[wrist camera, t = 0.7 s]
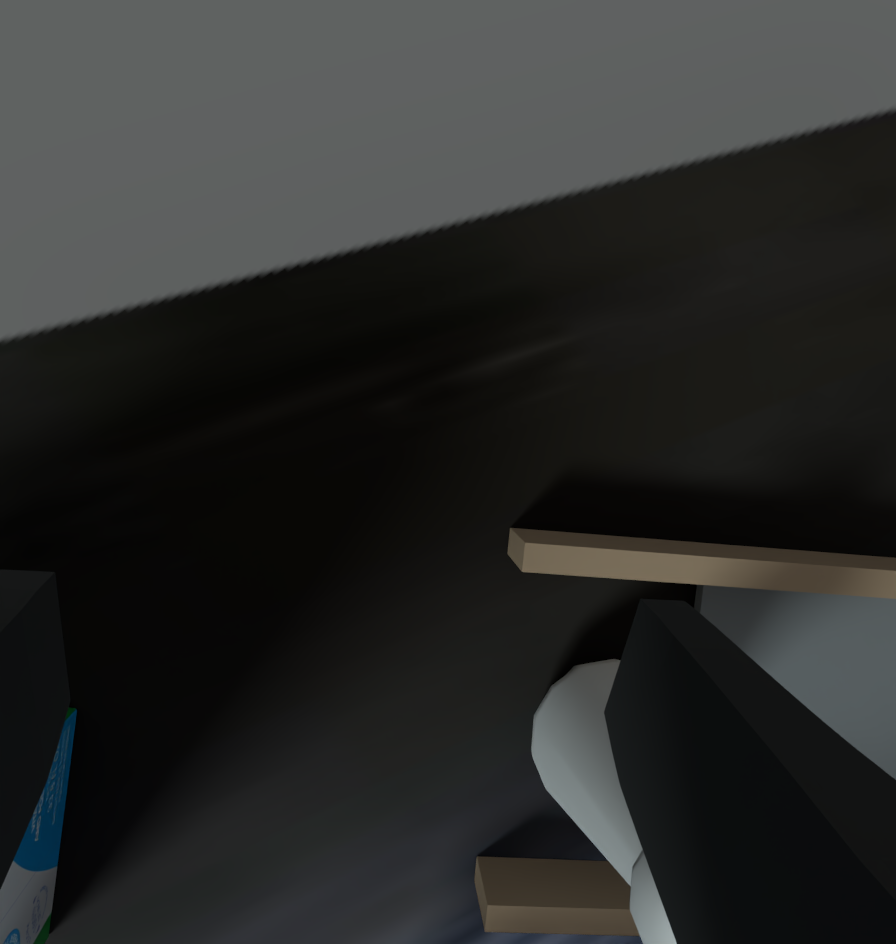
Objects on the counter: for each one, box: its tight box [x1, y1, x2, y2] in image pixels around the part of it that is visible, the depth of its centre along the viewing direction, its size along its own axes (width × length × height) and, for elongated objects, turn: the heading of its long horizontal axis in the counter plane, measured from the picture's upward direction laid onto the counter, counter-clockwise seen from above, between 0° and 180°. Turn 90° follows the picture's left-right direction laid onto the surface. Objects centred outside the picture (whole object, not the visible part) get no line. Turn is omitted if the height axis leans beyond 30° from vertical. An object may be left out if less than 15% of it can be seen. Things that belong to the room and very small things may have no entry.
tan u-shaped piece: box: [474, 528, 896, 936], centre depth 30 cm, size 14×21×3 cm, turn 84°
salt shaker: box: [531, 659, 677, 944], centre depth 25 cm, size 6×6×13 cm
